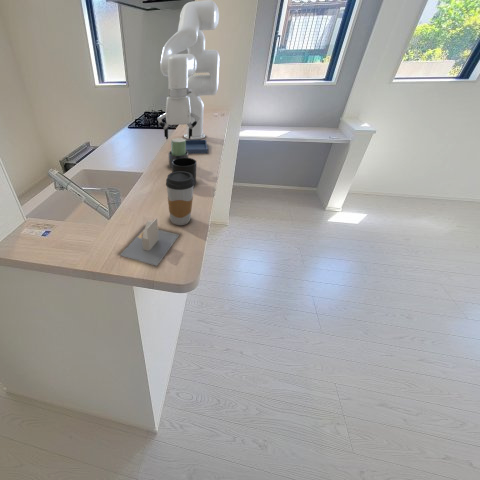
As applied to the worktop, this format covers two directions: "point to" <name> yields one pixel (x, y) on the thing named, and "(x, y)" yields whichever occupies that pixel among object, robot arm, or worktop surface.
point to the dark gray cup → (172, 157)
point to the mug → (185, 166)
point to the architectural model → (150, 244)
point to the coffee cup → (180, 196)
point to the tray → (196, 146)
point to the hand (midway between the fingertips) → (178, 138)
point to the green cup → (178, 146)
